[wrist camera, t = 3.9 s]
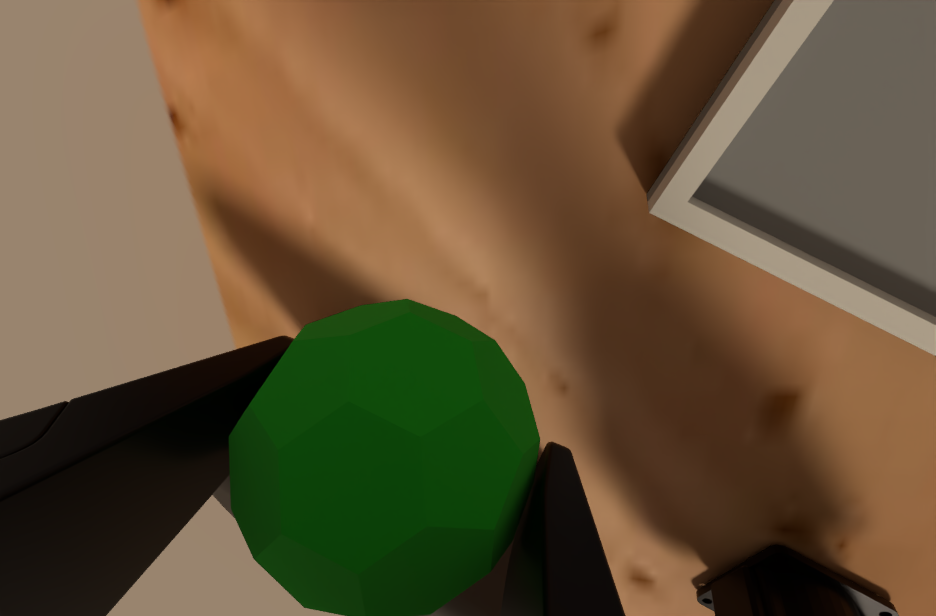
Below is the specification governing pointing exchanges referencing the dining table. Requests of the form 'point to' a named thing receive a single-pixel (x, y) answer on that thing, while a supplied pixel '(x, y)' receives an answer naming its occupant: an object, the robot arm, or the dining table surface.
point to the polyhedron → (384, 461)
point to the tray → (824, 159)
